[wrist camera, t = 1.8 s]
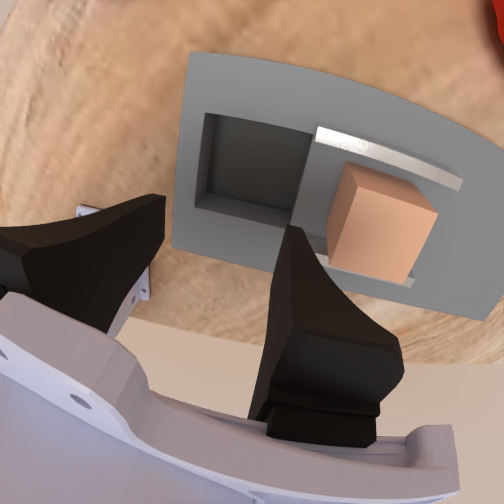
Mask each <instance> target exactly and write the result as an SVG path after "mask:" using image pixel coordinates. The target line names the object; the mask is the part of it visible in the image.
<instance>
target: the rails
mask: <svg viewBox="0 0 504 504" xmlns="http://www.w3.org/2000/svg"><path fill="white" fill-rule="evenodd" d="M314 140H315V141H316V142H320V143H323V144H327V145H331V146H334V147H338V148H341V149H344V150H348V151H351V152H354V153H358V154H361V155H364V156H367V157H370V158H373V159H376V160H379V161H382V162H385V163H388V164H391V165H393V166H396V167H399V168H402V169H404V170H407V171H410V172H412V173H415V174H418V175H420V176H423V177H425V178H428V179H430V180H433V181H435V182H437V183H440V184H442V185H445V186H447V187H449V188H452V189H454V190H456V191H458V192H459V189H460V187H461V184H462V182H463V179H462V178H461V177H460V176H458V175H457V174H456V173H455V172H453V171H452V170H451V169H449V168H447V167H445V166H443V165H440V164H438V163H436V162H434V161H431V160H429V159H426V158H424V157H422V156H419V155H417V154H414V153H412V152H409V151H407V150H404V149H401V148H399V147H396V146H393V145H391V144H388V143H385V142H382V141H379V140H376V139H373V138H370V137H367V136H364V135H361V134H358V133H355V132H352V131H349V130H345V129H342V128H338V127H335V126H332V125H328V124H324V123H321V122H317V123H316V127H315V131H314ZM306 237H307V239H308V241H309V243H310V245H311V247H312V249H313V251H314V253H315V254H316V256H317V258H318V260H319V261H320V263H321V265H322V266H324V267H328V268H332V269H336V270H340V271H344V272H348V273H352V274H356V275H360V276H364V277H368V278H372V279H376V280H380V281H384V282H388V283H392V284H396V285H400V286H404V287H408V288H411V286H412V285H413V283H414V281H415V279H416V278H415V276H414V273H413V271H412V269H411V270H410V272H409V274H408V276H407V278H406V279H405V281H404V283H403V284H401V283H397V282H393V281H389V280H385V279H381V278H377V277H373V276H369V275H365V274H361V273H357V272H353V271H349V270H345V269H341V268H337V267H333V266H329V259H328V245H327V239H323V238H319V237H315V236H311V235H307V234H306Z"/></svg>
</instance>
